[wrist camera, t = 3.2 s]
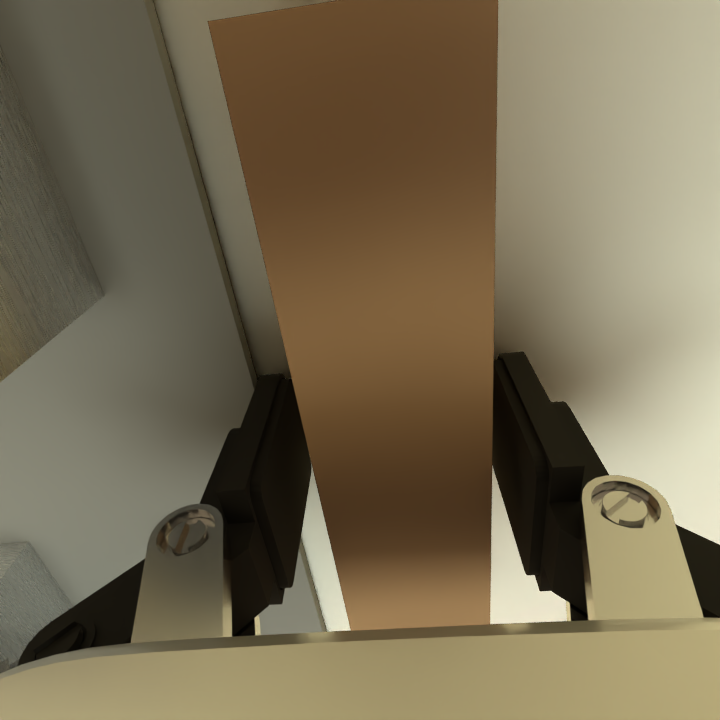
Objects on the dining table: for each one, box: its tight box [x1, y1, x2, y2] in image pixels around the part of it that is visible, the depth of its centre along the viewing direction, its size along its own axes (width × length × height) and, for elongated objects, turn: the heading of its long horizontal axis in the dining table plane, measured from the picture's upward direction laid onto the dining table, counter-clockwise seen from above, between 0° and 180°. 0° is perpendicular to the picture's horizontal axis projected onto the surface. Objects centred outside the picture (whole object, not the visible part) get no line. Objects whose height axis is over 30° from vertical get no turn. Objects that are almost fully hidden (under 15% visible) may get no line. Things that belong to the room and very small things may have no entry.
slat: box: [208, 0, 498, 631], centre depth 11 cm, size 16×3×4 cm, turn 7°
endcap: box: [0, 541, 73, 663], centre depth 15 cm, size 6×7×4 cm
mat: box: [0, 0, 327, 635], centre depth 13 cm, size 22×12×1 cm, turn 7°
